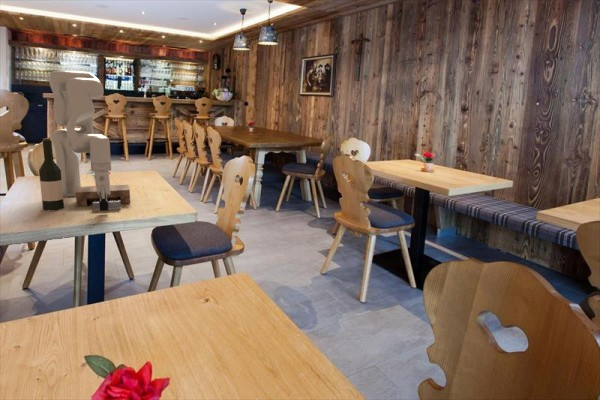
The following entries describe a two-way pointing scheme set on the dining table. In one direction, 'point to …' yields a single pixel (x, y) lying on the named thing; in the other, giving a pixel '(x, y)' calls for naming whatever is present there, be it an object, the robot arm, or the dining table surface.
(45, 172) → the wine bottle
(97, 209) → the tray
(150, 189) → the dining table surface
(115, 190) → the shelf
